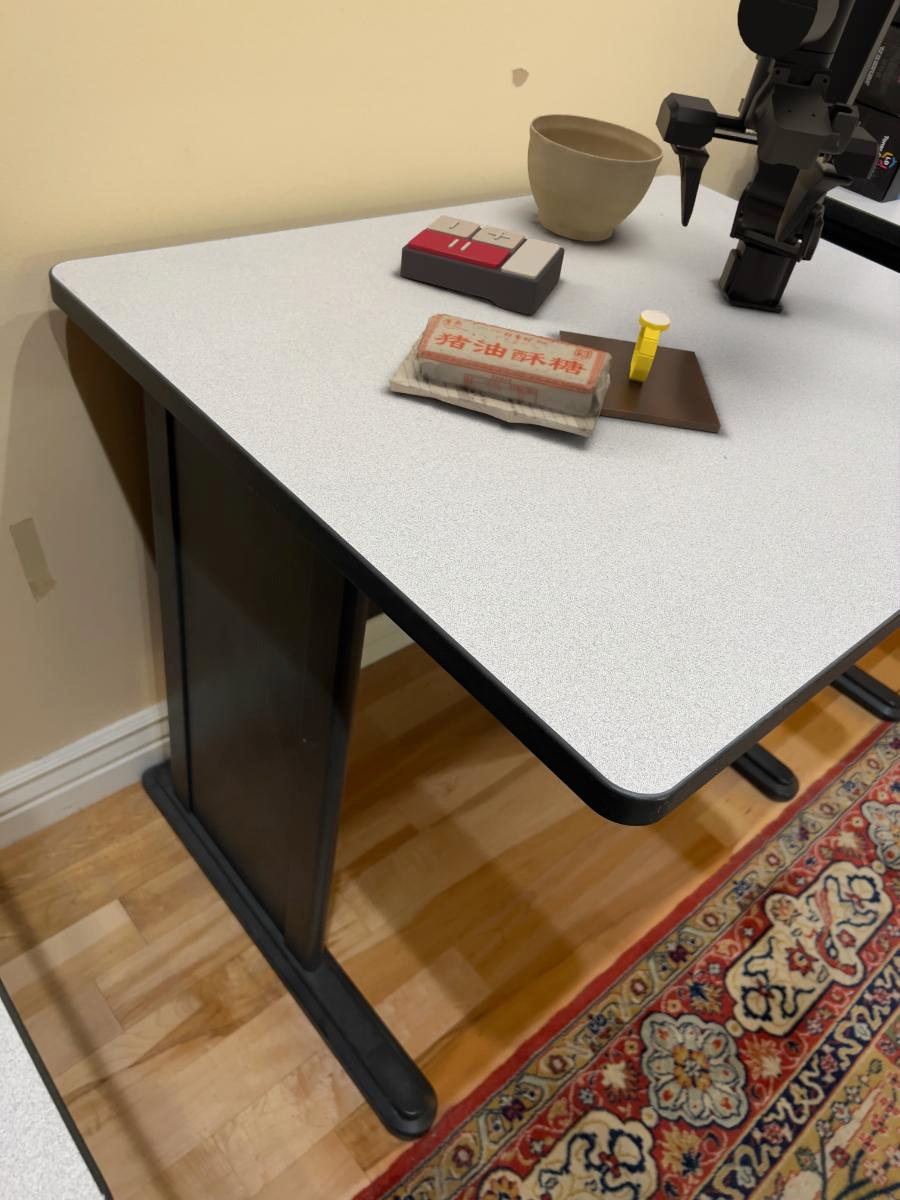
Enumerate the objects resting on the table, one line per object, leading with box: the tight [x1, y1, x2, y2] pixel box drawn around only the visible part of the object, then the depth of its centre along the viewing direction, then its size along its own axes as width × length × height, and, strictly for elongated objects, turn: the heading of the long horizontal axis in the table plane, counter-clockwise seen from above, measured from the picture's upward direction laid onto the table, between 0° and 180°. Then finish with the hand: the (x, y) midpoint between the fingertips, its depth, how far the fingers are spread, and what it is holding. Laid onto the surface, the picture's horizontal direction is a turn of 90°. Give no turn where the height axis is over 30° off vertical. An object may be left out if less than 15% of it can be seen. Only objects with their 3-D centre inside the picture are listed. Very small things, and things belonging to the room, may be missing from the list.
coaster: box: [557, 330, 722, 434], centre depth 84 cm, size 14×14×1 cm
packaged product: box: [389, 313, 612, 439], centre depth 77 cm, size 18×5×10 cm
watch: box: [629, 309, 671, 383], centre depth 82 cm, size 6×3×6 cm, turn 169°
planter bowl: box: [527, 113, 665, 243], centre depth 109 cm, size 16×16×11 cm
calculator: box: [400, 214, 566, 316], centre depth 95 cm, size 11×4×15 cm
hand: (731, 233), depth 84 cm, fingers open, 9 cm apart
